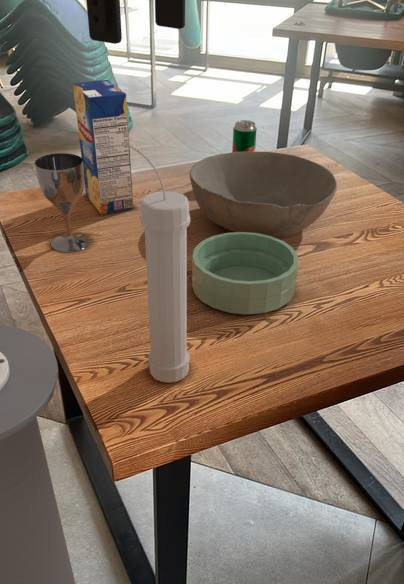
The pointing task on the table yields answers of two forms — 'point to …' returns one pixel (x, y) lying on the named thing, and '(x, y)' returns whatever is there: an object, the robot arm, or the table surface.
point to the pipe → (166, 281)
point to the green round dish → (244, 272)
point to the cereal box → (104, 144)
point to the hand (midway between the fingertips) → (139, 33)
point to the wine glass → (63, 193)
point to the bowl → (262, 191)
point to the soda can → (244, 136)
